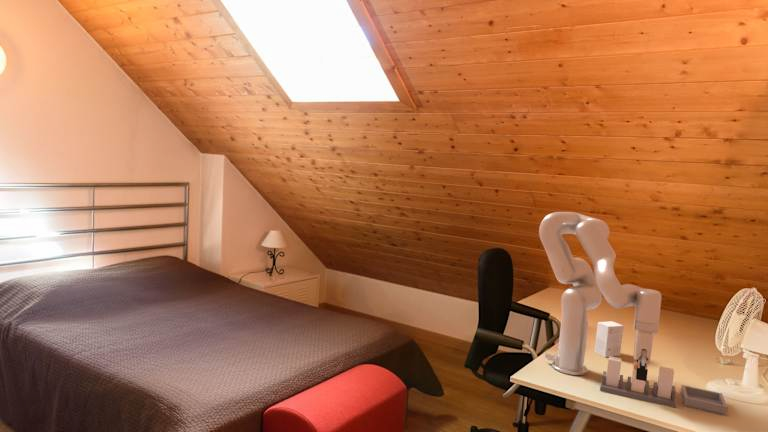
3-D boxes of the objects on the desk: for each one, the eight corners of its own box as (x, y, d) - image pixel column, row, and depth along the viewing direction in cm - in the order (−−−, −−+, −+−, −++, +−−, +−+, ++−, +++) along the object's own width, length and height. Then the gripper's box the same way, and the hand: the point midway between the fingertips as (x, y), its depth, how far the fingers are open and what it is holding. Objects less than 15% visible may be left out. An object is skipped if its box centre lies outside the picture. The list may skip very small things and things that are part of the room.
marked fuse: (630, 390, 184) (634, 364, 183) (630, 386, 188) (634, 360, 187) (643, 392, 182) (647, 367, 181) (643, 388, 186) (646, 363, 185)
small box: (608, 350, 228) (612, 320, 227) (620, 356, 223) (624, 325, 221) (593, 352, 225) (597, 321, 224) (605, 357, 219) (609, 326, 218)
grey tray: (683, 406, 177) (684, 397, 177) (680, 393, 188) (681, 384, 188) (726, 415, 173) (727, 406, 172) (720, 401, 183) (721, 393, 183)
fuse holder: (599, 390, 185) (603, 361, 184) (601, 380, 194) (604, 352, 193) (675, 407, 176) (679, 376, 175) (673, 396, 185) (677, 367, 184)
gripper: (633, 318, 192) (629, 365, 193) (633, 330, 176) (628, 381, 178) (657, 322, 189) (652, 369, 190) (659, 334, 173) (654, 386, 175)
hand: (640, 375), depth 184 cm, fingers open, 9 cm apart
